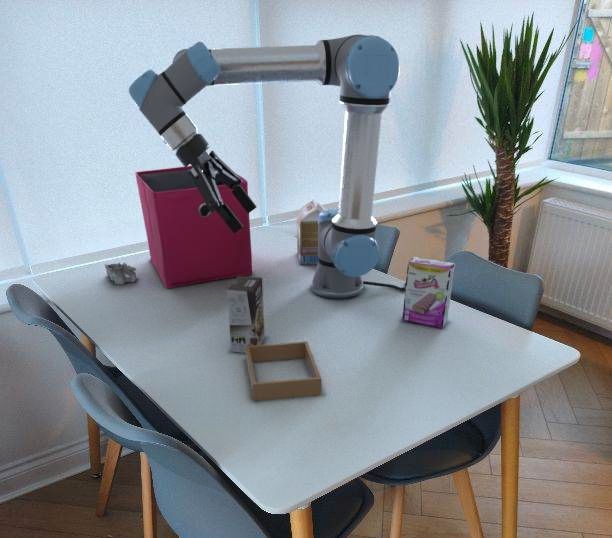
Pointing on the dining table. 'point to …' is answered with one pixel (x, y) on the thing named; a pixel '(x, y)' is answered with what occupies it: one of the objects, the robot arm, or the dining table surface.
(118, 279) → the egg carton
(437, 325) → the candy bar box
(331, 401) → the dining table surface
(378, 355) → the dining table surface
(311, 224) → the milk carton
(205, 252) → the storage bin
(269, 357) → the wooden box
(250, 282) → the coffee box
